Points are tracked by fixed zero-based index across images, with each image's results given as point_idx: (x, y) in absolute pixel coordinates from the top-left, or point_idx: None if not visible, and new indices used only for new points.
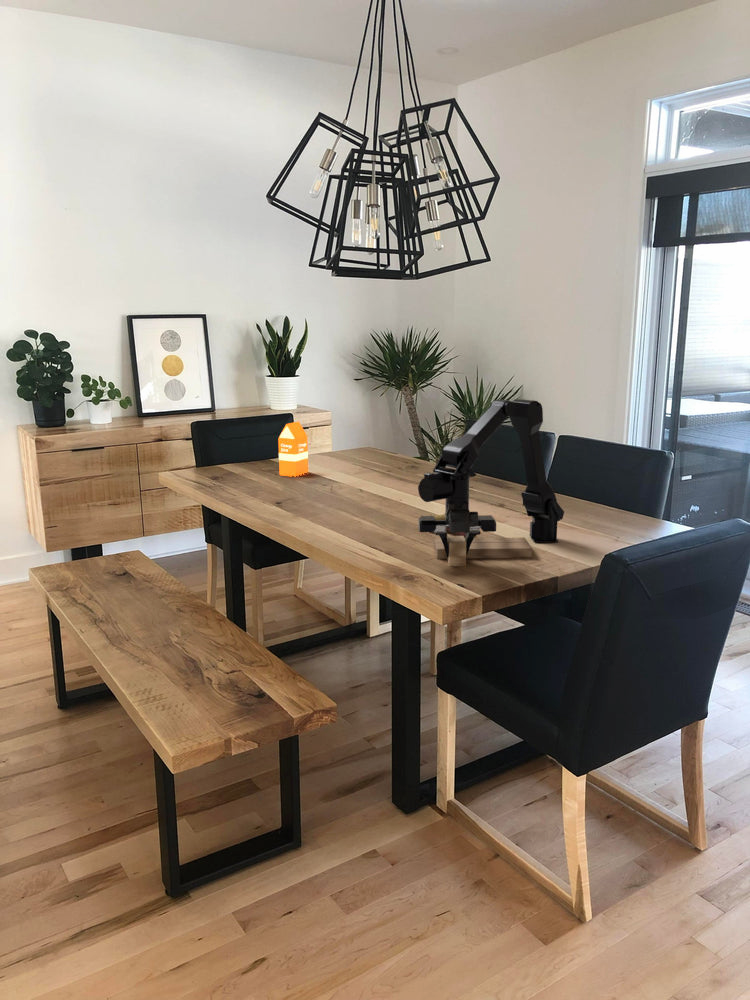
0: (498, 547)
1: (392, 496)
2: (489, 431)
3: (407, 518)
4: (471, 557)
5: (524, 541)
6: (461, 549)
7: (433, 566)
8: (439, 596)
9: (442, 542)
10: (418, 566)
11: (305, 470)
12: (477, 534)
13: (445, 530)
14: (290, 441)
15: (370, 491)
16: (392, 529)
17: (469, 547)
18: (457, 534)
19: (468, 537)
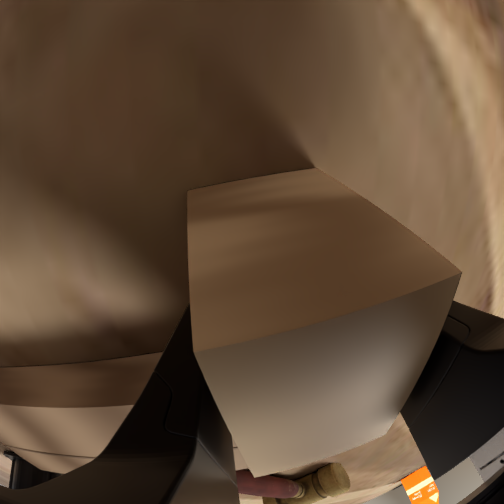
0: (45, 418)
1: (344, 495)
2: None
3: (349, 476)
4: None
5: (16, 450)
6: (256, 253)
7: (410, 158)
8: None
9: None
10: (466, 158)
11: (405, 480)
12: (2, 493)
13: (493, 436)
14: (430, 494)
15: (364, 490)
16: (397, 440)
17: (163, 354)
18: (260, 477)
19: (176, 464)
